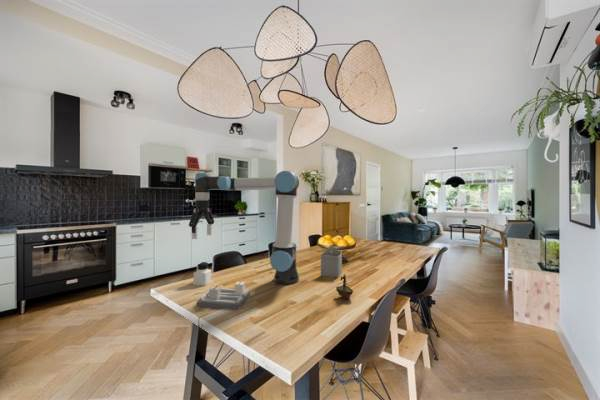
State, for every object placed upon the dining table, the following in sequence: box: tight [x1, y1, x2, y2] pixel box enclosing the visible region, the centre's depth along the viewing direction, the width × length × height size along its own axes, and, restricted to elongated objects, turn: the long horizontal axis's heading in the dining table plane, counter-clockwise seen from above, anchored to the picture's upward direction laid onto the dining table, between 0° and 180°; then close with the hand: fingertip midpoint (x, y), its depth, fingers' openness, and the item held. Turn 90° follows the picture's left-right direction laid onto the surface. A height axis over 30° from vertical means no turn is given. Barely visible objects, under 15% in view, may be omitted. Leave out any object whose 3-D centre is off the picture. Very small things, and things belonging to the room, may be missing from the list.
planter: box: [320, 244, 343, 279], centre depth 154 cm, size 16×8×19 cm, turn 116°
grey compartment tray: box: [196, 288, 251, 310], centre depth 116 cm, size 20×16×3 cm
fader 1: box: [208, 286, 222, 300], centre depth 112 cm, size 4×4×5 cm
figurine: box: [335, 274, 354, 299], centre depth 120 cm, size 10×8×12 cm
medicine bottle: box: [193, 261, 212, 287], centre depth 138 cm, size 7×7×12 cm
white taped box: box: [234, 281, 246, 295], centre depth 119 cm, size 4×4×5 cm
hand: (202, 236), depth 137 cm, fingers open, 13 cm apart
